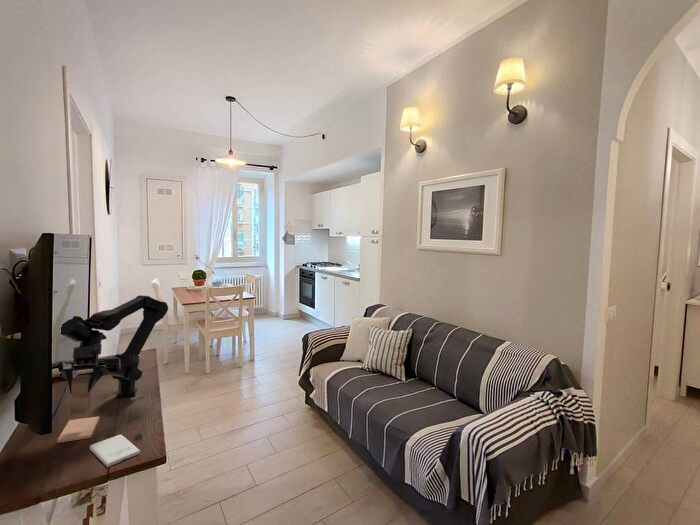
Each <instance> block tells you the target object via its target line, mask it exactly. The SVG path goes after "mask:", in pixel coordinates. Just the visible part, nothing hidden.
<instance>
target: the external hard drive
mask: <svg viewBox="0 0 700 525" xmlns="http://www.w3.org/2000/svg"><path fill="white" fill-rule="evenodd" d="M89 450H90V451H91V452H92V453H93V454H94V455H95V456H96V457H97V458H98V459H99V460H100V461H101V462H102V464H104V466H106V468H109V467H112V466H114V465H115V464H118V463H120V462H122V461H124V460H126V459H130V458H132V457H134V456H137V455H140V454H141V450H140V449H139V448H138V447H136V446H135V445H134V444H133V443H132V442H131V441H130V440H129V439H127V438H126V437H125V436H123V435H122V434H118V435H115V436H112V437H109V438H106V439H105V440H101V441H98V442H95V443H92V444H91V445H89Z"/></svg>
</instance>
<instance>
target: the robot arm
mask: <svg viewBox="0 0 700 525" xmlns="http://www.w3.org/2000/svg"><path fill="white" fill-rule="evenodd" d="M141 309H143V311H142V317H143V318H142V320H141V323H140V324H139V325H138V328H137V330H136V332H135V333H134V334H133V337H132V339H131V340H130V342H129V344H128V346H127V348H126V349H125V350H124V352H123V353H121V354H118V353H117V354H116V355H115V356H114V357H106V358H105V359H104V362H102V361H101V362H98V360H99V355H101V354H102V341H103V340H104V341H105V340H107V336H106V335H105V334H104V332H102V331H107V332H108V331H112V330H113V329H115V328H116V327H117V326H119V325H120V323H121V321H122V320H124V319H125V318H127V317H128V316H130V315H132V314H134V313H136V312H138V311H139V310H141ZM168 310H169V306H168V303H167V302H165V301H161V300H157V299H155V298H153V297H151V296H149V295H142V294H139V295H136V297H134V298H132V299H130V300H129V301H127V302H125V303H122V304H121V305H118V306H117V307H114V308H112V309H107V310H102V311H98V312H95V313H93V314H92V315H91V316H89V317H88V318H85V319H84V318H82V317H81V316H78V315H73V317H72V318H71V319H68V320H66V321H65V322H64V323H62V324H61V325H62V327H61V333H59V334H60V335H61V336H64V337H65V338H67V339H68V340H71V341H72V342H75V343H79V345H78V346H77V347H76V346H75V347H73V352H72V361H73V363H74V364H72V363H65V361H64V360H60V362H59V364H58V369H59V372H61V374H60V377H59V378H61V377H62V378H63V379H66V380H67V383H68V389H69V390H68V391H69V394H70V395H71V387H72V380H73V378H74V377H75V376H76V374H75V372H77V371H87V370H92V373H91V380H90V383H89V387H88V393H90V394H91V392H92V391H93V389H94V387H95V385H96V384H97V383H98V381H100V380H101V378H102V377H103V376H106V375H107V373H110V375H111V377H112V379H113V380H118V381H117V391H116V394H115V399H119V398H130V397H136V395H137V391H138V388H137V387H136V381H139V379H141V378H142V375H143V371H142V370H140V369H139V368H138V367H139V365H140V361H139V355H140V354H141V352H142V349H143V348H144V346H145V344H146V342H147V341H148V338H149V337H150V335H151V333H152V331H153V329H154V327H155V326H156V324H157V323H158V322H160V321H161V320H162V319H163V318H164V317H165V316H166V315H167V313H168ZM99 330H100V331H99ZM90 391H91V392H90Z"/></svg>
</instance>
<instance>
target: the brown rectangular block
mask: <svg viewBox="0 0 700 525" xmlns="http://www.w3.org/2000/svg"><path fill="white" fill-rule="evenodd" d="M91 377H92V373H91V374H82V375H81V374H80V375H75V377H74V378H73V380H72V387H71V394H70V396H71V397H70V398H71V399H70V416H72V417H73V416H81V415H87V414H88V412H89V410H90V408H91V393H92V390H91V391H90V393H88V387H89V383H90V380H91Z"/></svg>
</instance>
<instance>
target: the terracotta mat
mask: <svg viewBox="0 0 700 525" xmlns="http://www.w3.org/2000/svg"><path fill="white" fill-rule="evenodd" d="M99 420H100V416H92V417H84V418H76V419H69V420H68V422H67V424H65V426H64V428H63V430H62V432H61V433H60V435H59V436H58V438H57V440H56V442H57V444H58V443H65V442H70V441H71V442H72V441H77V440H78V441H79V440H84V439H90V438H92V436H93V434H94V432H95V429H96V427H97V424H98V423H99Z"/></svg>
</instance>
